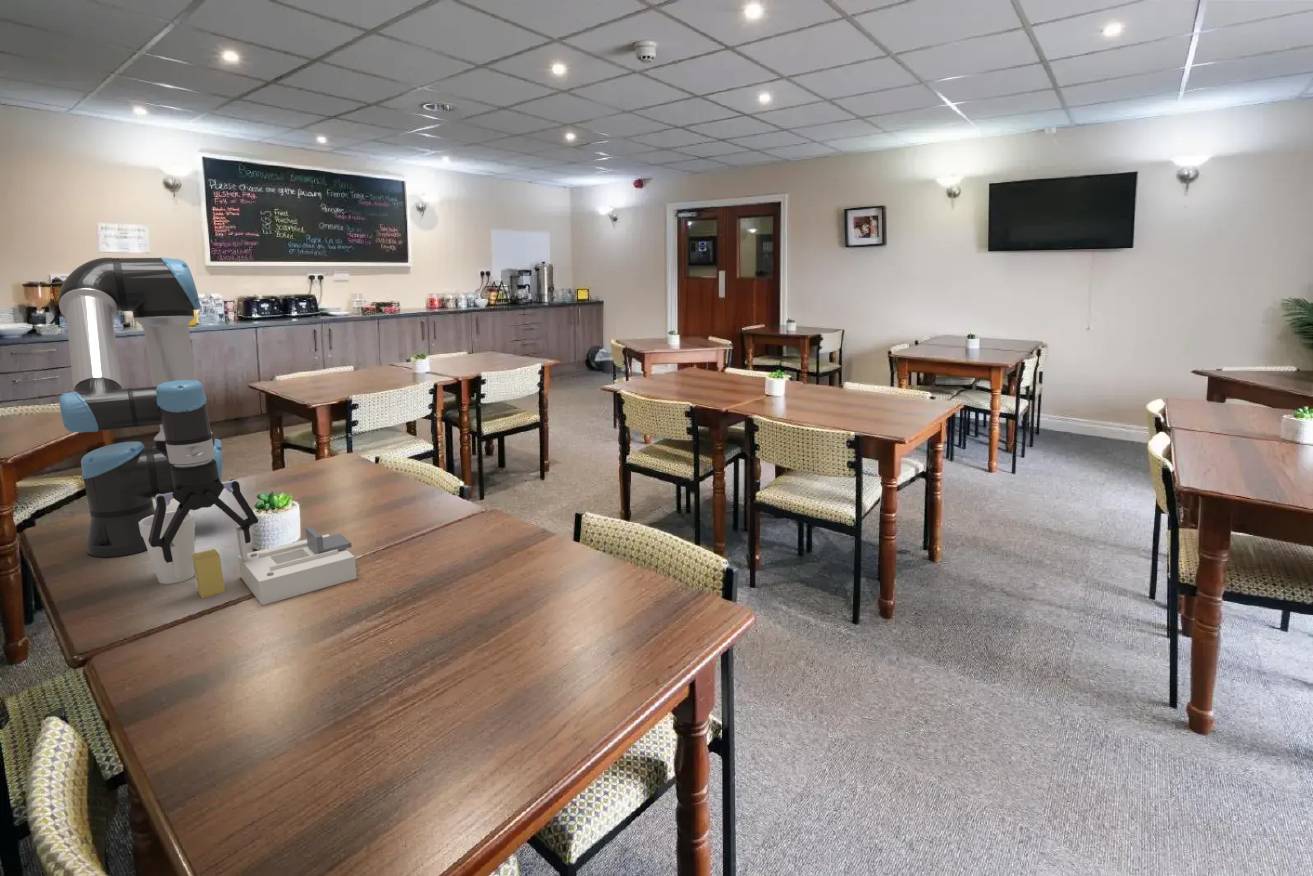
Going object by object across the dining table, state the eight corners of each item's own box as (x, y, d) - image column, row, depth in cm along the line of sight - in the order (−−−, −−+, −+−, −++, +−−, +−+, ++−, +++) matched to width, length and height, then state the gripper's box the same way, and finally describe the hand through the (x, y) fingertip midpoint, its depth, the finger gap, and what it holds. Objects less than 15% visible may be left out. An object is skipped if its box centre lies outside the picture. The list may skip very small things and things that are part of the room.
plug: (197, 591, 142) (191, 554, 140) (220, 585, 145) (214, 548, 143) (202, 598, 139) (196, 560, 137) (225, 591, 142) (219, 555, 140)
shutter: (307, 545, 151) (305, 528, 150) (340, 537, 156) (338, 520, 155) (318, 555, 147) (316, 537, 146) (351, 547, 151) (349, 529, 150)
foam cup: (176, 589, 142) (165, 529, 139) (137, 584, 144) (126, 525, 141) (213, 569, 152) (204, 512, 148) (176, 565, 153) (167, 509, 150)
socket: (241, 577, 148) (237, 552, 147) (330, 554, 160) (327, 530, 158) (262, 605, 137) (258, 577, 135) (356, 578, 148) (354, 553, 147)
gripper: (120, 479, 125) (144, 592, 131) (265, 454, 140) (280, 556, 146) (115, 469, 130) (137, 578, 136) (255, 446, 146) (270, 545, 151)
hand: (211, 567), depth 141 cm, fingers open, 11 cm apart
